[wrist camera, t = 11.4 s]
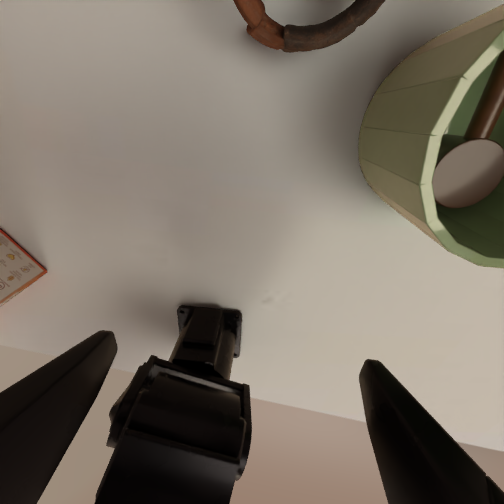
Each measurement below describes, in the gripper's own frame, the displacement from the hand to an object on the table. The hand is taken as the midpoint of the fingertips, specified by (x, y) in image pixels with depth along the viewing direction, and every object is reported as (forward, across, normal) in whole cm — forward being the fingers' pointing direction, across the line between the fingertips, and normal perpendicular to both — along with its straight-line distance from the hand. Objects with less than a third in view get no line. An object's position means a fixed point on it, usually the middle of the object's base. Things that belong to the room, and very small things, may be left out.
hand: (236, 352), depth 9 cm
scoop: (+12, -12, -7) cm, 18 cm away
